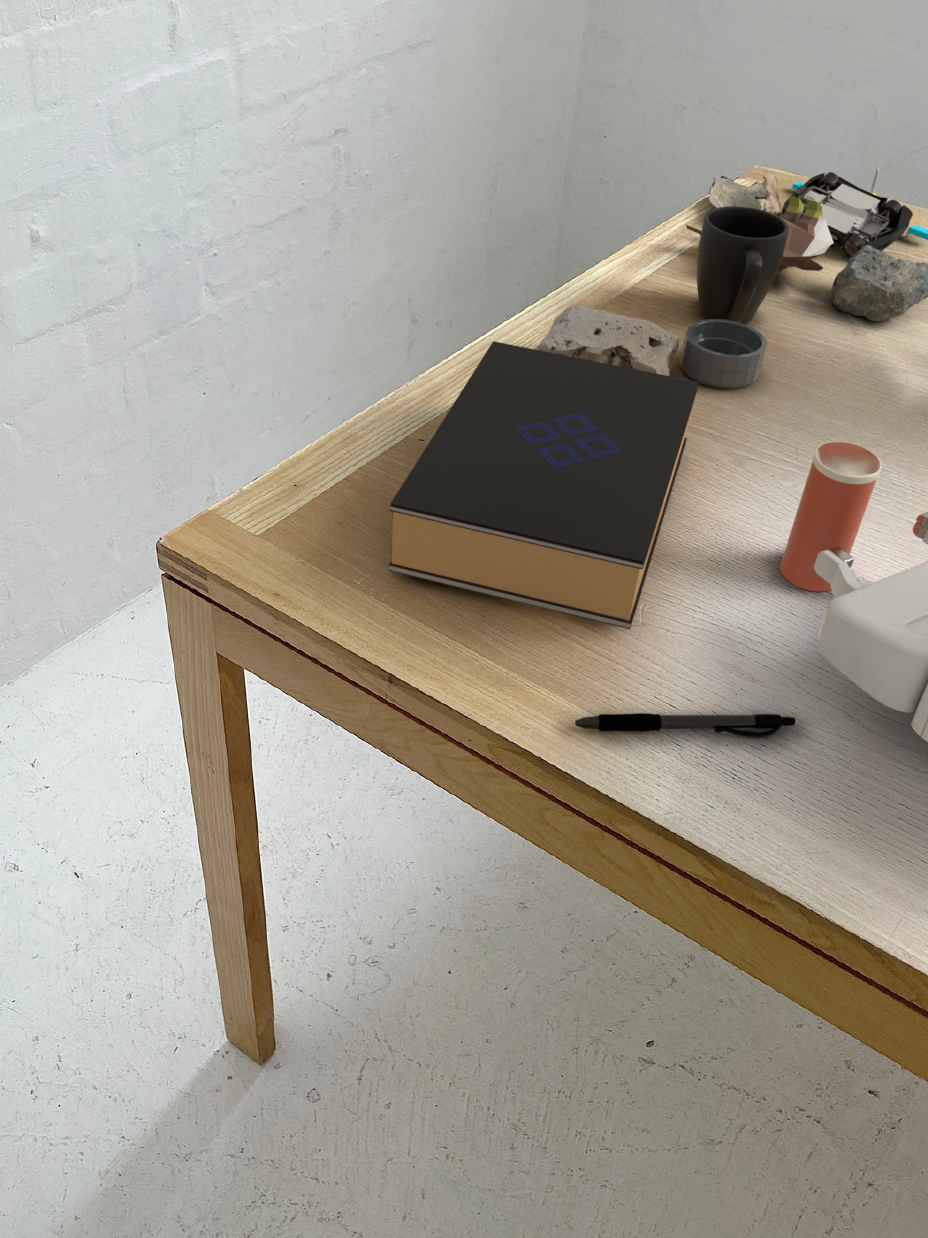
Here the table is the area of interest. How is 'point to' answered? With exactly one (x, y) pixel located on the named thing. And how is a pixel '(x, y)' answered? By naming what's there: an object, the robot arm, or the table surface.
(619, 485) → the book
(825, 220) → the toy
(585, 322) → the stone
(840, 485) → the canister
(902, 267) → the rock
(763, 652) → the table surface
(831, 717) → the table surface
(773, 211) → the stone fragment
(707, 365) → the bowl
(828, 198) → the toy car
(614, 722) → the pen
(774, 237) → the mug
